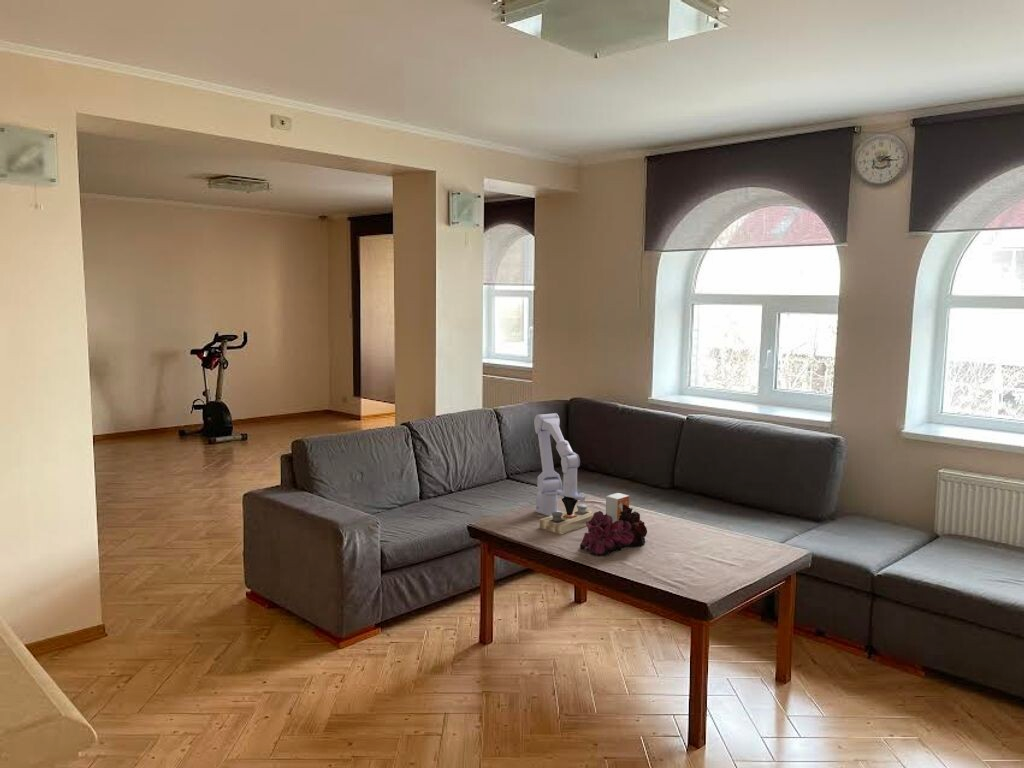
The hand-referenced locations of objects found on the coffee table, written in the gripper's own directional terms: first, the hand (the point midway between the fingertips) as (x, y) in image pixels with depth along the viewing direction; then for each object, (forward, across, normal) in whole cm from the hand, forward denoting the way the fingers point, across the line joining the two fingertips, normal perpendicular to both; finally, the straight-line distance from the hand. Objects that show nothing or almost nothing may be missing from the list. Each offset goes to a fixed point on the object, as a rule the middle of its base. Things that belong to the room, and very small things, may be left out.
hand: (569, 514), depth 311 cm
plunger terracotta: (+3, 0, 0) cm, 3 cm away
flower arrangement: (+5, -29, +7) cm, 30 cm away
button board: (+4, 0, 0) cm, 4 cm away
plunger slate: (+1, 0, -8) cm, 8 cm away
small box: (+5, -15, -13) cm, 20 cm away
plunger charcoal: (+1, 0, +8) cm, 8 cm away
